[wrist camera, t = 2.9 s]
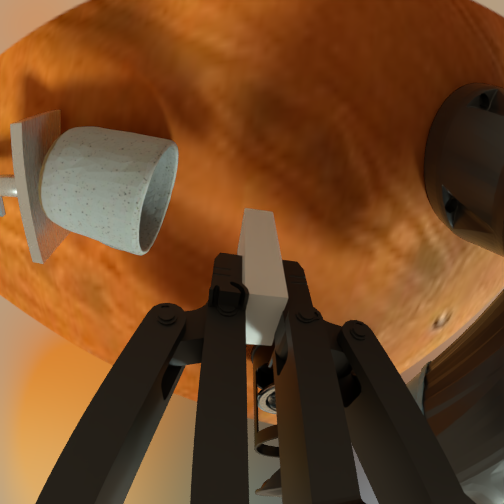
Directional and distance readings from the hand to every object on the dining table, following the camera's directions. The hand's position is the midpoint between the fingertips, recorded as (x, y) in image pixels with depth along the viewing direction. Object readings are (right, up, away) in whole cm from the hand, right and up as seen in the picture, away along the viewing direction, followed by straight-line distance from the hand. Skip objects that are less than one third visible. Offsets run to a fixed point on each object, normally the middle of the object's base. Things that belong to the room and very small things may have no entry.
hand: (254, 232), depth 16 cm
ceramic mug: (-10, +4, +5) cm, 12 cm away
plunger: (-22, +6, +3) cm, 23 cm away
